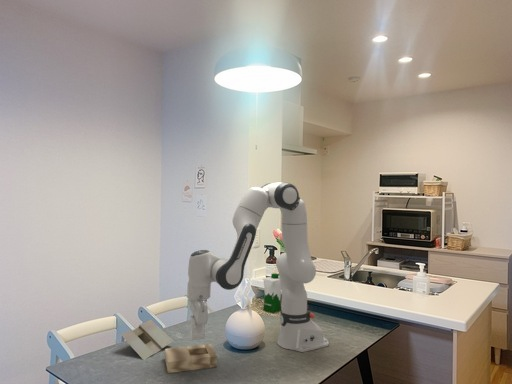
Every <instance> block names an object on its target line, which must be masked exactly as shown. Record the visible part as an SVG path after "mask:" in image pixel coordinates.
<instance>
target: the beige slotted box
mask: <svg viewBox="0 0 512 384" xmlns="http://www.w3.org/2000/svg"><path fill="white" fill-rule="evenodd" d="M120 335H121V337H123V339H124V340H125V341H126V342H127V343H128V345H129V346H130V347H131V348H132V349H133V350H134V352H136V354H138V356H139V357H140V358H141V359H142V360H147V359H148V358H150V357H151V356H153V355H155V354H157V353H159V352H160V351H162V350H163V349H164V348H165V347H167V346H168V345H170V344H172V343H173V342H174V340H173V339H172V338H171V337H170V336H169V335H167V334H166V332H165V331H164V330H162V328H160V327H159V326H158V325H157V323H156V322H154V321H153V320H152V319H148V320H147V321H145V322H143V323H141V324H139V325H138V327H136V328H134V329H129V330H126V331H125V332H123V333H121V334H120Z"/></svg>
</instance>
